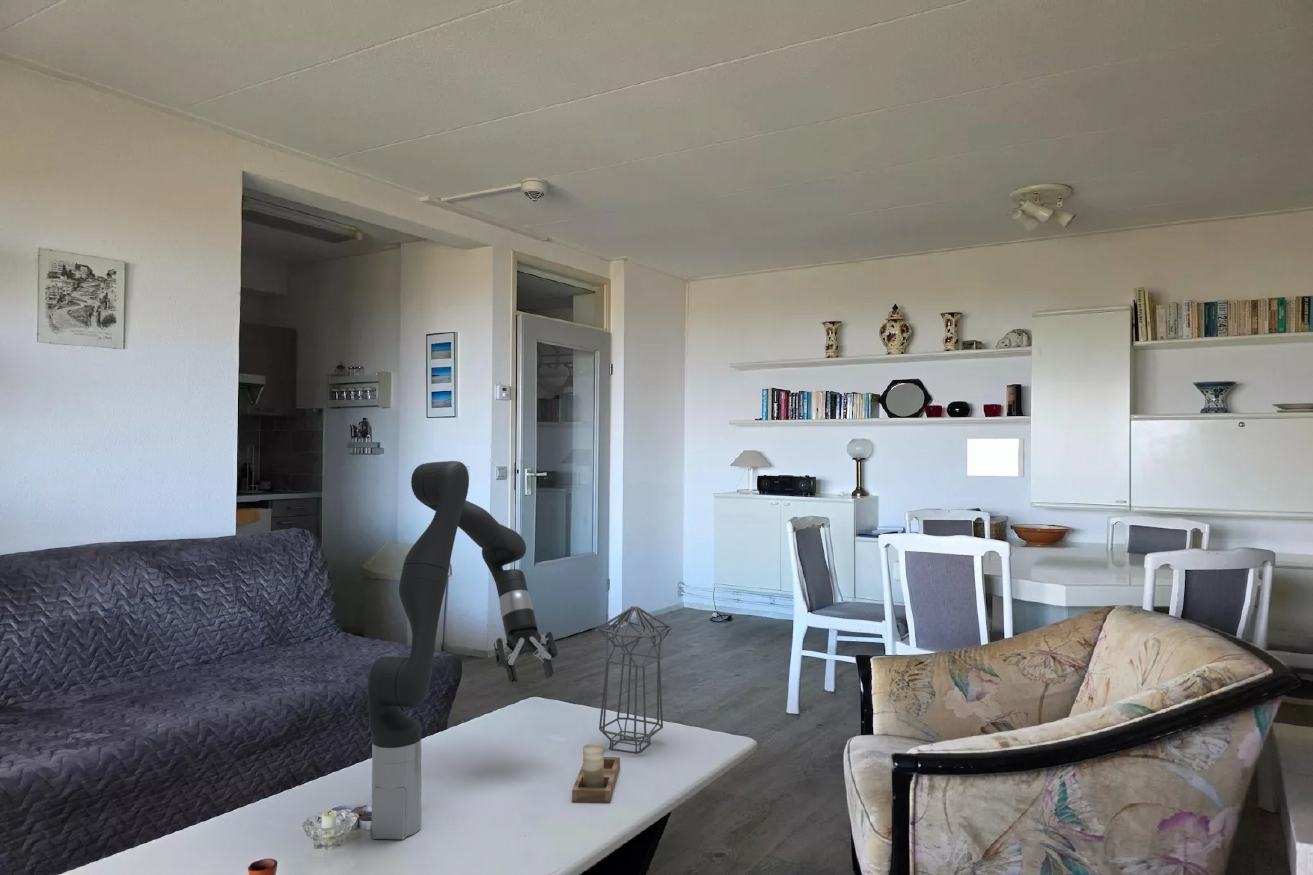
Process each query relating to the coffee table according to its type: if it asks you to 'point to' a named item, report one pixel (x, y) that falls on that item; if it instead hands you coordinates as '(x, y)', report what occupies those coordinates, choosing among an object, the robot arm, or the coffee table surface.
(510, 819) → the coffee table surface
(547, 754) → the coffee table surface
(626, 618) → the geometric lantern
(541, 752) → the coffee table surface
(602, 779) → the banded peg
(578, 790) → the socket block
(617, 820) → the coffee table surface
